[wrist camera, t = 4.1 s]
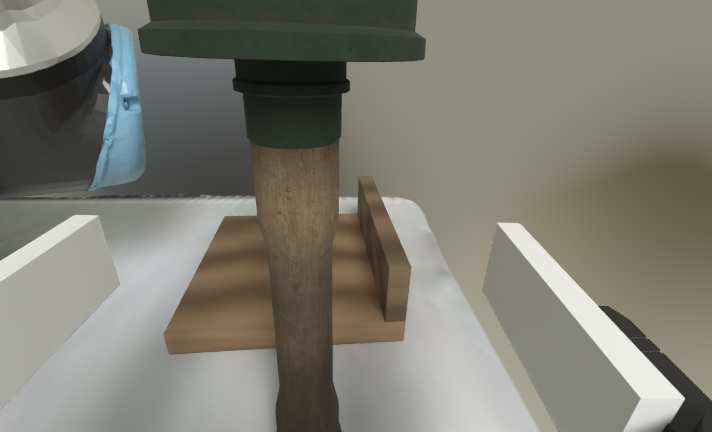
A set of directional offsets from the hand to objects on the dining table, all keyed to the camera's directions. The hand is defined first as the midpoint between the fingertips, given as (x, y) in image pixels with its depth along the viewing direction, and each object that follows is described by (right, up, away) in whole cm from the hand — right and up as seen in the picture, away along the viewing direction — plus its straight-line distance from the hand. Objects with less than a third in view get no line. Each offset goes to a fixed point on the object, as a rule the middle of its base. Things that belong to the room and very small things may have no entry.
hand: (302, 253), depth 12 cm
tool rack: (-4, -5, +25) cm, 26 cm away
